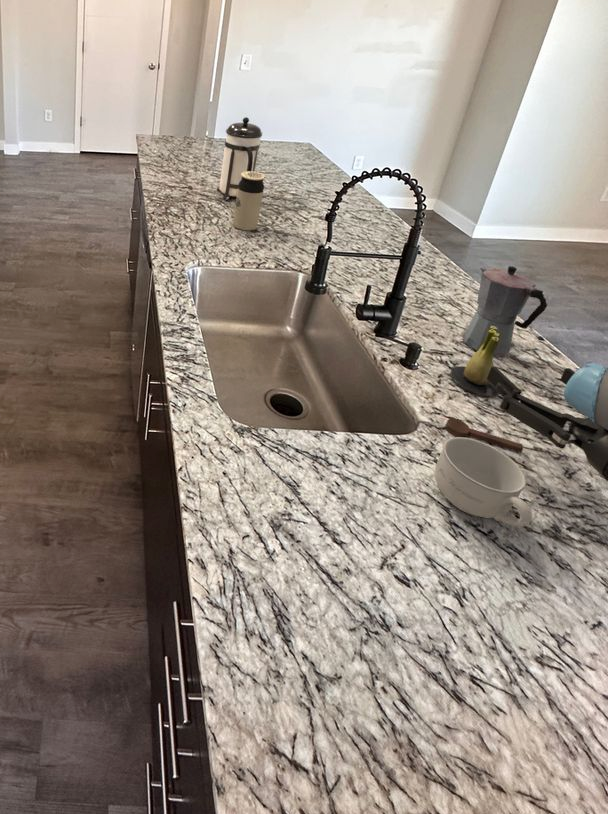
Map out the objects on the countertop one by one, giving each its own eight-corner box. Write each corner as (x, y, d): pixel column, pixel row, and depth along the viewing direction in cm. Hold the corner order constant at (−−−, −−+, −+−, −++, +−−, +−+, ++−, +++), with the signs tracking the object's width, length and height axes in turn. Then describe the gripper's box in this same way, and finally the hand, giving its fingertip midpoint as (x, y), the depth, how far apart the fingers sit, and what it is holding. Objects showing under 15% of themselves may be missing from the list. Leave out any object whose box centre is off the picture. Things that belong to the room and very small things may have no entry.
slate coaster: (497, 376, 113) (498, 374, 113) (504, 403, 105) (505, 401, 105) (448, 363, 116) (449, 361, 116) (452, 388, 109) (452, 386, 109)
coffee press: (205, 194, 205) (215, 116, 192) (229, 185, 215) (240, 110, 202) (244, 208, 193) (257, 126, 180) (267, 198, 203) (282, 119, 190)
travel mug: (255, 222, 182) (264, 172, 175) (257, 232, 175) (267, 180, 167) (231, 220, 183) (239, 170, 176) (233, 229, 176) (241, 177, 169)
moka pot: (471, 324, 130) (500, 251, 122) (535, 363, 117) (573, 285, 109) (441, 330, 127) (469, 256, 119) (504, 371, 114) (540, 291, 106)
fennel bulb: (470, 368, 114) (489, 321, 109) (495, 382, 110) (517, 334, 105) (456, 378, 111) (475, 330, 106) (482, 392, 107) (503, 343, 102)
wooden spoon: (518, 443, 96) (521, 438, 96) (522, 457, 93) (525, 452, 93) (444, 420, 101) (446, 415, 100) (446, 433, 98) (448, 428, 97)
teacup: (415, 468, 90) (430, 433, 87) (480, 471, 90) (497, 436, 87) (464, 547, 78) (483, 509, 74) (539, 551, 78) (562, 513, 74)
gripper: (539, 485, 80) (454, 387, 99) (704, 488, 80) (586, 390, 100) (559, 449, 77) (467, 355, 96) (730, 452, 77) (604, 358, 96)
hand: (527, 373), depth 98 cm, fingers open, 13 cm apart
